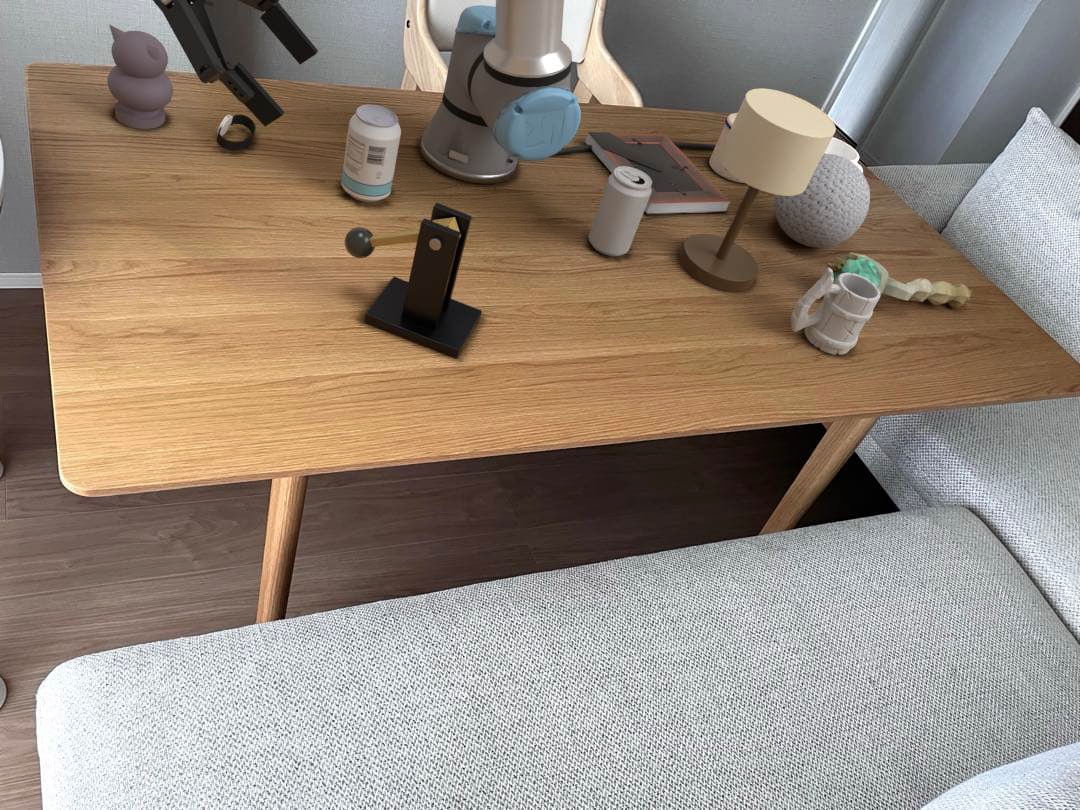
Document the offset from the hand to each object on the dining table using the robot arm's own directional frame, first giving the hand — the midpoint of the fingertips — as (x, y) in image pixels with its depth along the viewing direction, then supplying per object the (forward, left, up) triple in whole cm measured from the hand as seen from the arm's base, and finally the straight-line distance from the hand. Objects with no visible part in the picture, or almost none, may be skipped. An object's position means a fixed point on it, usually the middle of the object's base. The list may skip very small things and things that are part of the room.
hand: (292, 87), depth 102 cm
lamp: (-65, +5, -21) cm, 68 cm away
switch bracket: (-15, +16, -21) cm, 30 cm away
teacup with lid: (-86, -24, -21) cm, 91 cm away
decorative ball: (-87, -3, -21) cm, 89 cm away
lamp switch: (-12, +14, -12) cm, 22 cm away
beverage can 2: (-48, 0, -21) cm, 52 cm away
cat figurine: (+14, -29, -21) cm, 38 cm away
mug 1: (-98, -15, -21) cm, 101 cm away
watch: (+2, -24, -21) cm, 32 cm away
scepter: (-95, +13, -21) cm, 98 cm away
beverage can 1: (-14, -12, -21) cm, 28 cm away
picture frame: (-66, -20, -21) cm, 72 cm away
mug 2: (-73, +22, -21) cm, 79 cm away
